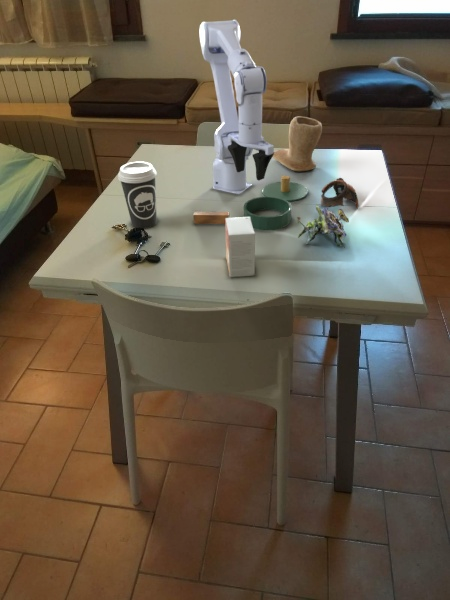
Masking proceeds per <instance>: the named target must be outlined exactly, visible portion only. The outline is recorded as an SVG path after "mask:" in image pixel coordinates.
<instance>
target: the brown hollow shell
mask: <svg viewBox="0 0 450 600" xmlns="http://www.w3.org/2000/svg"><path fill="white" fill-rule="evenodd" d="M330 189H333V190H334V192H335V196H332V197H327V196H326V195H325V194H326V193H327V192H328V191H329V190H330ZM321 193H322V194H321V195H320V197H321V198H320V205H321V206H322V207H326V208H331V207H337V206H341V207H344V199H345V200H347V201H350V202H353V203H354V205H355V208H356V209H357V210H358V209H359V199H358V193H357V192H356V190H355V188H354V187H353V186H352V185H351V184H349V183H347V182H346V181H345V180H344V178H342V177H338V178H336V179H335V180H332V181H330V182H328V183H327V184H326V185H325V186H323V188H322V190H321Z"/></svg>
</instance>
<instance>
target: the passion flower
mask: <svg viewBox="0 0 450 600" xmlns="http://www.w3.org/2000/svg"><path fill="white" fill-rule="evenodd" d="M315 210H316V211H317V213H318V217H317V219H314V220H312V222H311V221H308V222H307V223H306V225H304V223H302V222H301V217H300V216H297V217H296V223H297V224H300V225H301V226H303V230H302V231H301V232H300V233H299V234H298V237H297V238H298V239H300V238H301V237H302V236H303V235H304V234H305V233H308V236H307V241H306V243H305V245H306V246H307V245H308V244H309V243H310V242H312V241H314V240H315V238H316V236H317V235H318V234H319V233H320V232H321V234H322V235H324V234H325V235H331V234H333V239H334V244H335V245H336V247H338V248H342V246H344V245H345V242H344V241H343V240H344V239H345V238H346V236H347V233H346V232H345V231H344V230H345V229H344V224H343V222H345V223H350V220H349V218H348V217H347V216H346V215H347V214H346V213H344V210H343V209H342V208H339V209H338V216H337V215H336V213H334V211H332V210H331V209H329V207H326V208H325V207H324V208H322V209H321V207H319V204H317V205H316V206H315ZM341 220H342V221H343V222H341ZM311 231H313V233H312V232H311Z"/></svg>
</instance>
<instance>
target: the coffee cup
mask: <svg viewBox="0 0 450 600" xmlns="http://www.w3.org/2000/svg"><path fill="white" fill-rule="evenodd" d="M157 176H158V173H157V171H156V169H155V167H154V166H153V164H151V162H147V161H133V162H128V163H125V164H123V165H121V166H120V168H119V171H118V174H117V179H118V181H120V184H121V187H122V191H123V195H124V199H125V202H126V207H127V211H128V215H129V219H130V223H131V226H132V227H134V228H135V229H148V228H149V229H150V228H151V227H154V226H155V225H156V224H157V223H158V222H157V221H158V218H157V217H158V215H157V194H156V177H157ZM139 227H140V228H139Z"/></svg>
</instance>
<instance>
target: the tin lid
mask: <svg viewBox="0 0 450 600" xmlns="http://www.w3.org/2000/svg"><path fill="white" fill-rule="evenodd" d="M261 194H262V196H263V197H266V196H267V197H268V196H269V197H278V198H282V199H284V200H287V201H288V202H289V203H291V202H297V201H300V200H303V199H305V198H306V197H307V196H308V195H309V190H308V188H307V187H306V186H305V185H303V184H300V183H298V182H292V181H291V176H289V175H282V176H281V177H280V181H276V182H271V183H269V184H266V185H265V186H264V187H262V191H261Z"/></svg>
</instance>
